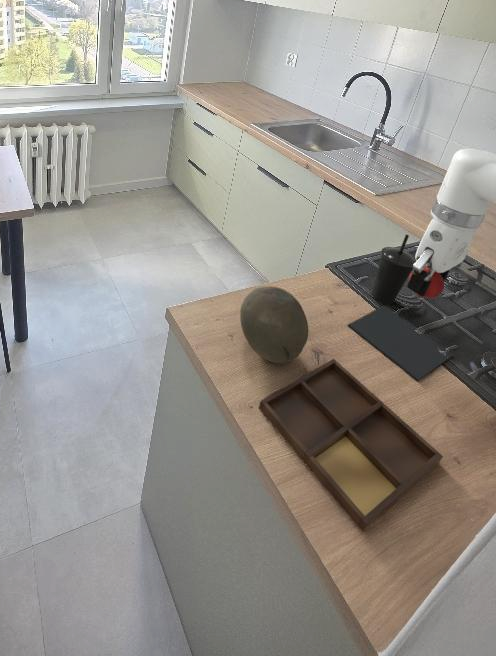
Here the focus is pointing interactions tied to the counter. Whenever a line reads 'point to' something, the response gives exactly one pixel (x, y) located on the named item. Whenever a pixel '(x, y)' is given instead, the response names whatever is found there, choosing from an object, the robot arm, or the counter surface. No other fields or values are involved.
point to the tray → (350, 440)
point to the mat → (400, 342)
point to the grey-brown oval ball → (274, 324)
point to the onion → (433, 285)
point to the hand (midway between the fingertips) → (424, 286)
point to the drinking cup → (392, 273)
